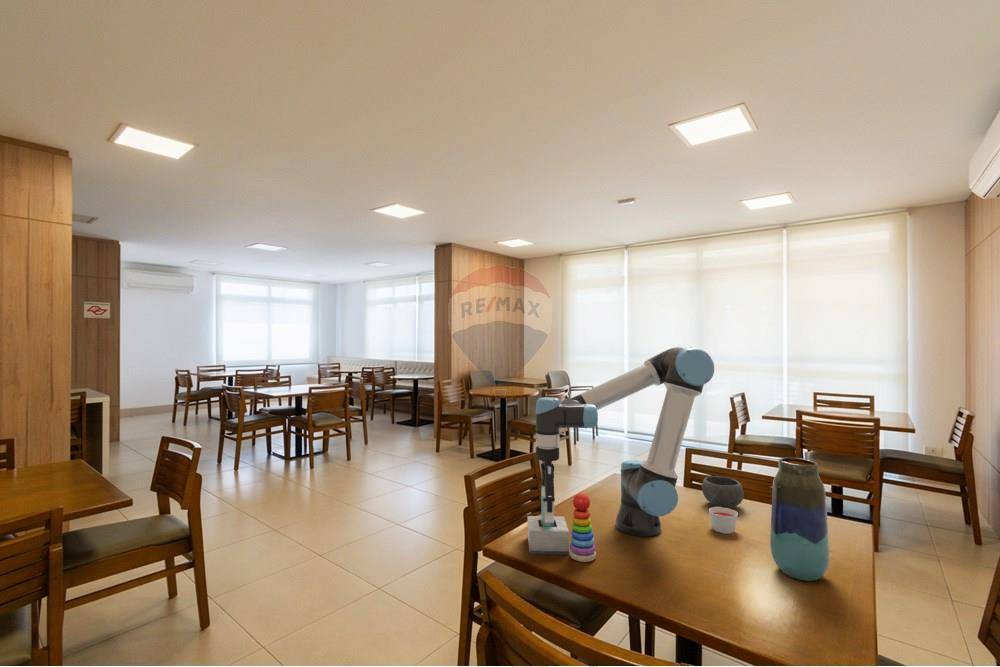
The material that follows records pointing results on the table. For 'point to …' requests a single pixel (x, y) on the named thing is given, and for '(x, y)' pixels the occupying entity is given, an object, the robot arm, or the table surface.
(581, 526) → the stacking toy
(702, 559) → the table surface
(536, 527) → the socket block
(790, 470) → the vase
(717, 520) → the candle
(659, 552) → the table surface
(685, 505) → the table surface
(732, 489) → the bowl
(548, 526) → the peg
